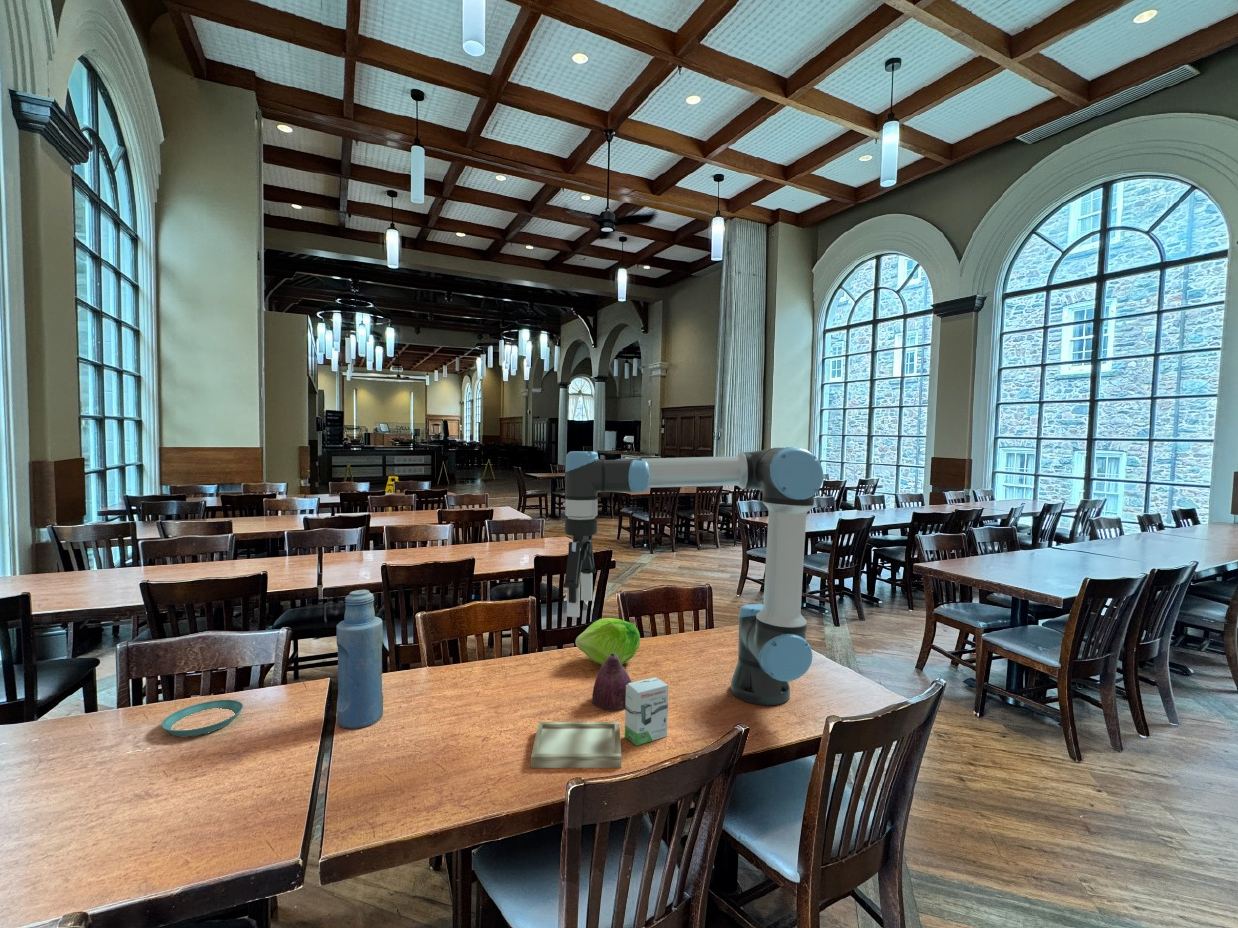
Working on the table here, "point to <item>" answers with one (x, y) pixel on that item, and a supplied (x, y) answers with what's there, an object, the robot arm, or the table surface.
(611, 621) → the lettuce
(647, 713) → the ink box
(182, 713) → the teal round ring piece
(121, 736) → the table surface
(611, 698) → the vegetable
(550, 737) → the tray
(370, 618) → the bottle
